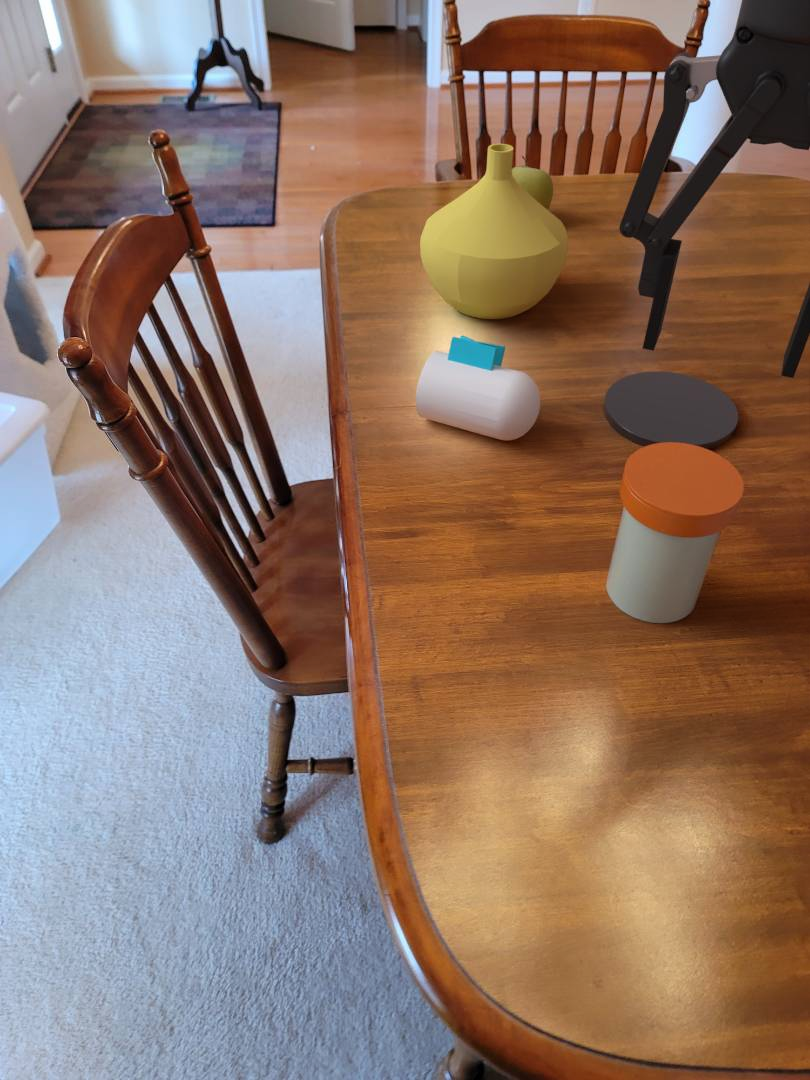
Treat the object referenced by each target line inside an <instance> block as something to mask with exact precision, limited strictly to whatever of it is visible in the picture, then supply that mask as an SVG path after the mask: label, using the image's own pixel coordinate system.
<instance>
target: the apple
mask: <svg viewBox="0 0 810 1080" xmlns="http://www.w3.org/2000/svg"><path fill="white" fill-rule="evenodd" d="M521 158H522V159H523V160H524V162H525V164H526V165H517V166H514V167H512V176H513V177H514V179H515V180H516V182H517V183H518V185H520V186H521V187H522V188H523V189H524V190H525V191H526V192H527V193H528V194H530V195H531V196H532V197H533V198H534V199H535V200H536V201H537V202H538V203H540V204H541V205H542V206H543V207H544V208H546V209H547V210H548V211H549V210H550V207H551V203H552V200H553V195H554V185H553V180H552V177H551V176H550V174H549V173H548V172H546V171H545V170H542V169H539V168H535V167H534V168H533V167H530V166H529V164H528V162H527V160H526V158H525V157H524V155H522V156H521Z"/></svg>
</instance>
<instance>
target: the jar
mask: <svg viewBox="0 0 810 1080" xmlns="http://www.w3.org/2000/svg"><path fill="white" fill-rule="evenodd" d="M721 533H722V531H720V532H718V533H715V534H713V535H709V536H705V537H696V538H686V537H676V536H671V535H667V534H663V533H660V532H657V531H655V530H652V529H650V528H648V527H646V526H645V525H643V524H641V523H640V522H638V521H637V520H636V519H634V518H633V517H632V516H631V515H630V514H629V513H628V511H627V510H626V509H625V507H624V506H623V507H622V512H621V516H620V520H619V525H618V529H617V532H616V537H615V540H614V541H615V542H614V546H613V549H612V554H611V558H610V563H609V567H608V572H607V576H606V580H605V588H606V593H607V594H608V598H609V599H610V600H611V602H612V603H613V604H614V605H615V606H616V607H617V608H618V609H619V610H620V611H622V612H623V613H625V614H626V615H627V616H629V617H632V618H634V619H637V620H640V621H642V622H647V623H653V624H669V623H674V622H677V621H680V620H682V619H684V618H686V617H687V616H689V614H691V613H692V611H693V610H694V609H695V606H696V604H697V601H698V599H699V596H700V593H701V590H702V587H703V584H704V581H705V578H706V576H707V573H708V570H709V567H710V564H711V561H712V559H713V555H714V553H715V550H716V547H717V544H718V542H719V540H720V539H719V538H720V535H721Z"/></svg>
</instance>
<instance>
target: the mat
mask: <svg viewBox="0 0 810 1080" xmlns="http://www.w3.org/2000/svg"><path fill="white" fill-rule="evenodd" d="M603 414H604V417H605V419H606V421H607V423H608V424H609V425H610V426H611V427H612V428H613V429H614V430H615V431H616V432H617V433H618V434H619V435H621V436H622V437H624V438H626V439H628V440H629V441H631V442H633V443H635V444H637V445H640V446H643V447H645V446H648V445H652V444H656V443H664V442H677V443H686V444H691V445H695V446H699V447H702V448H705V449H708V450H710V451H711V450H713V449H715V448H716V449H717V448H718V447H721V446H722V445H723V444H725V443H726V442H728V441H729V440H730V439H731V438H732V436H733V435H734V434H735V432H736V429H737V425H738V422H739V412H738V408H737V406H736V404H735V403H734V401H733V400H732V399H731V398H730V397H729V396H728V395H727V394H726V393H725V392H724V391H723V390H721V389H720V388H719V387H717V386H715V385H713V384H712V383H710V382H707V381H705V380H703V379H701V378H698V377H694V376H692V375H688V374H683V373H679V372H671V371H659V370H657V371H656V370H655V371H642V372H637V373H633V374H630V375H626V376H624V377H621V378H620V379H618V380H616V381H615V382H614V383H613V384H611V385H610V387H608V389H607V390H606V392H605V395H604V401H603Z"/></svg>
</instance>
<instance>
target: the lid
mask: <svg viewBox="0 0 810 1080" xmlns="http://www.w3.org/2000/svg"><path fill="white" fill-rule="evenodd" d="M744 491H745V485H744V479H743V477H742V475H741V474H740V471H739V470H738V469H737V468H736V467H735V466H734V465H733V463H731V462H730V461H729V460H728V459H726V458H725V457H724V456H723V455H721V454H718V453H716V452H715V451H712V450H711V449H710V450H708V449H705V448H702V447H699V446H695V445H691V444H686V443H677V442H664V443H656V444H652V445H648V446H643V447H640V448H639V449H637V450H635V451H634V452H633V453H632V454H631V455H630V456H629V457H628V458H627V460H626V462H625V465H624V469H623V474H622V478H621V482H620V487H619V497H620V501H621V503H622V506H623V507H625V509H626V510H627V511H628V513H629V514H630V515H631V516H632V517H633V518H634V519H636V520H637V521H638V522H640V523H641V524H643V525H645V526H646V527H648V528H650V529H652V530H655V531H657V532H660V533H663V534H667V535H671V536H676V537H686V538H696V537H705V536H709V535H713V534H715V533H718V532H720V531H721V532H722V531H723V530H725V529H726V528H728V527H729V526H730V524H732V523H733V521H734V519H735V517H736V514H737V511H738V509H739V506H740V503H741V500H742V498H743V495H744Z"/></svg>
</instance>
